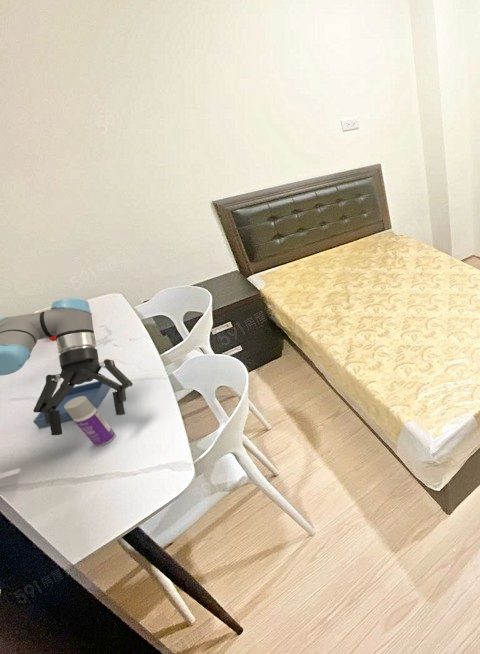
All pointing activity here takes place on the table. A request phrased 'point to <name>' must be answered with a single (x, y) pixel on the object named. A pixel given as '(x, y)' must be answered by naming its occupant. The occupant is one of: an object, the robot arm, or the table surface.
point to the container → (89, 420)
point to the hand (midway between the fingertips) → (89, 424)
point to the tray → (90, 391)
